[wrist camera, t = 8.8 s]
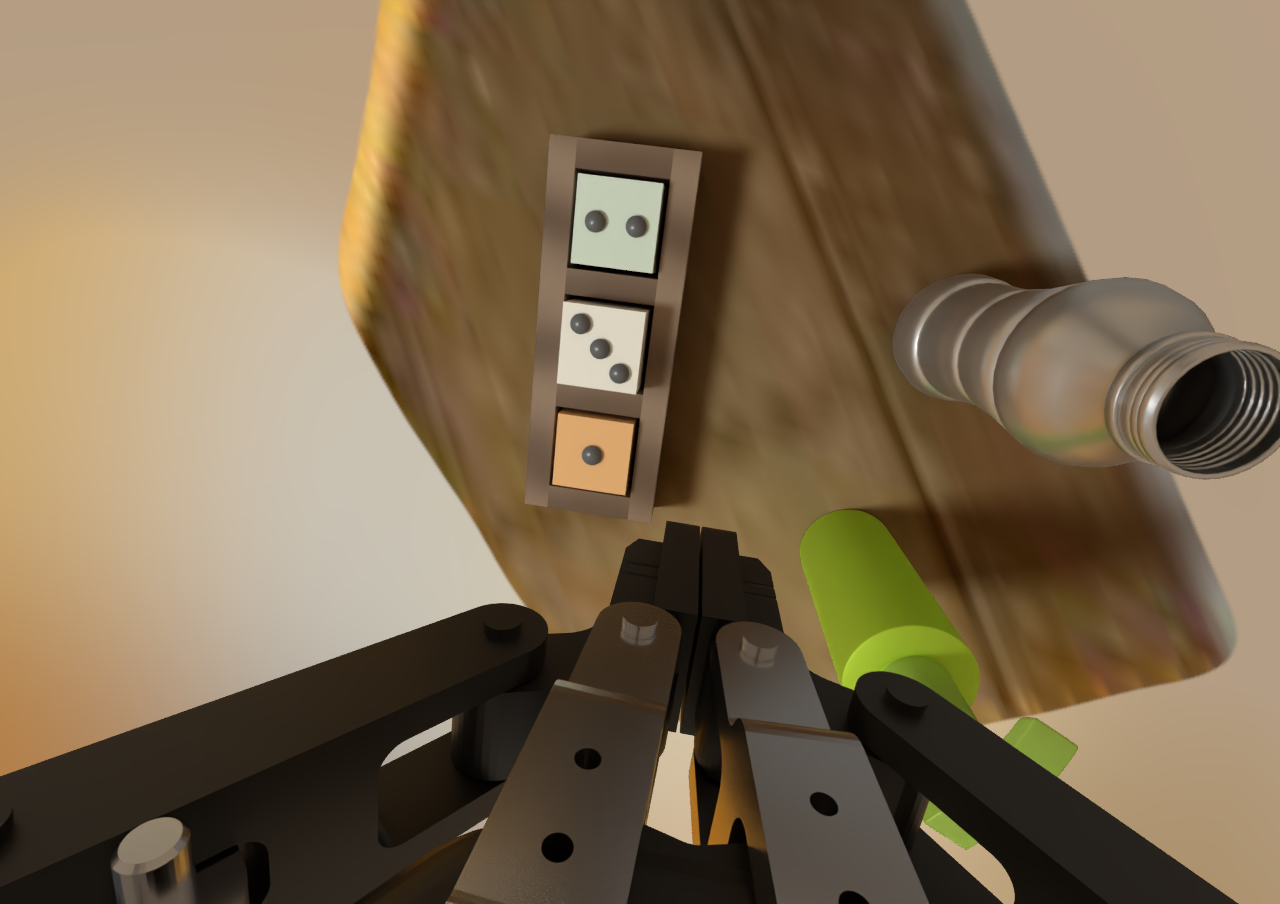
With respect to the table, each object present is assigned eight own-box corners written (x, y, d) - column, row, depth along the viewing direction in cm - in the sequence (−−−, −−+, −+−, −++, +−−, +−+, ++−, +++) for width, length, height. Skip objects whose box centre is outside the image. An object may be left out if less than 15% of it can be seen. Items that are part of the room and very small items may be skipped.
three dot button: (574, 298, 35) (562, 301, 32) (650, 308, 35) (645, 312, 32) (568, 374, 37) (556, 383, 34) (641, 384, 36) (635, 395, 33)
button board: (560, 143, 34) (550, 133, 32) (702, 159, 33) (702, 152, 31) (535, 489, 40) (524, 503, 38) (653, 507, 40) (650, 522, 37)
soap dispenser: (923, 530, 38) (1136, 791, 19) (851, 606, 40) (980, 908, 22) (849, 479, 38) (994, 695, 19) (780, 559, 40) (849, 825, 21)
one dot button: (569, 402, 38) (557, 413, 35) (639, 412, 38) (633, 424, 35) (563, 468, 40) (551, 485, 37) (630, 478, 39) (624, 496, 36)
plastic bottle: (861, 364, 36) (1037, 477, 17) (921, 252, 34) (1200, 238, 15) (960, 407, 36) (1245, 567, 17) (1026, 299, 34) (1436, 344, 15)
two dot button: (588, 180, 34) (577, 172, 31) (666, 190, 34) (663, 183, 31) (581, 262, 36) (570, 262, 33) (656, 272, 35) (652, 273, 32)
